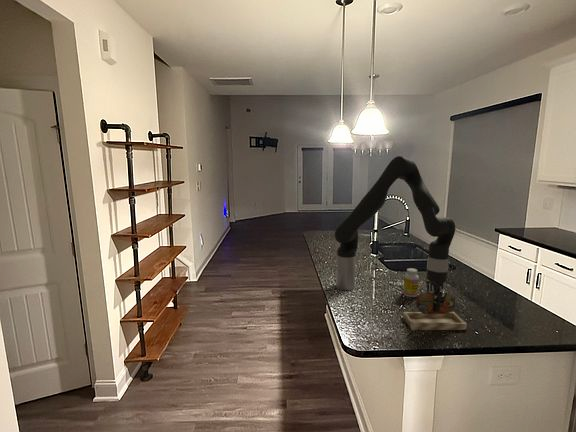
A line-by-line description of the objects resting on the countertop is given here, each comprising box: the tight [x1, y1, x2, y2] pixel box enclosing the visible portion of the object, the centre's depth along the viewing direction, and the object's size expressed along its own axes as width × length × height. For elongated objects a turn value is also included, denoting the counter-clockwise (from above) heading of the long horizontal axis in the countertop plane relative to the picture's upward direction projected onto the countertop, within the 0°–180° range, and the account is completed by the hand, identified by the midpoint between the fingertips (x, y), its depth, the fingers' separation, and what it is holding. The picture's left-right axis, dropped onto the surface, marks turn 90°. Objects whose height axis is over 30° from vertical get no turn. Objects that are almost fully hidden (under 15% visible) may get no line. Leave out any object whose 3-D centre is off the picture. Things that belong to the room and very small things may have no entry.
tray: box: [402, 311, 468, 331], centre depth 130 cm, size 21×10×2 cm, turn 89°
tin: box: [414, 291, 456, 314], centre depth 129 cm, size 15×3×8 cm, turn 89°
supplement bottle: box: [402, 267, 420, 298], centre depth 157 cm, size 7×7×13 cm
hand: (434, 309), depth 129 cm, fingers closed on tin, 2 cm apart
